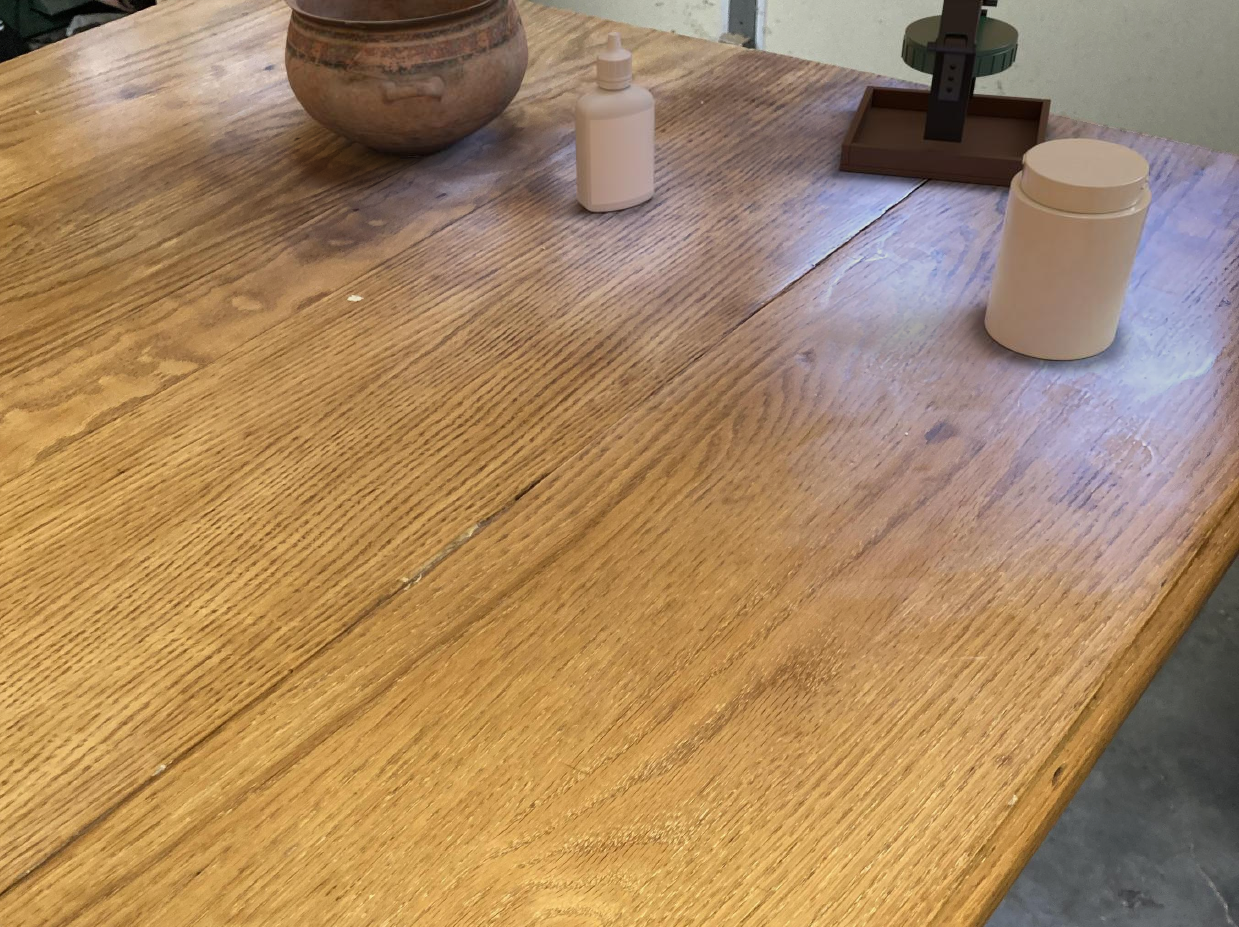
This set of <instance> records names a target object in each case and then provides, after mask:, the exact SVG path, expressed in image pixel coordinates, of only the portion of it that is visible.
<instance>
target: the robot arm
mask: <svg viewBox="0 0 1239 927" xmlns="http://www.w3.org/2000/svg"><path fill="white" fill-rule="evenodd" d="M998 2H999V0H943V2H942V9H941V14H940V15H941V21H940V28H939V34H938V37H937V38H936V41H935V42H929V41H928V42H927V51H928V52H936V55H935V62H934V69H933V75H932V77H931V83H930V96H929V103H928V110H927V117H926V124H925V130H924V137H923V140H933V141H945V142H956V143H961V140H962V135H963V129H964V123H965V117H966V111H967V105H968V99H972V98H973V94H975V88H976V81H977V77H975V78H972V75H973V69H974V63H975V57H976V51H977V49H976V48H977V41H976V36H977V31H978V25H979V20H980V16H985V17H988V9H985V8H983V7H990V8H992V7H993V8H997V6H998ZM951 33H963V34H951Z"/></svg>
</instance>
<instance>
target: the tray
mask: <svg viewBox="0 0 1239 927" xmlns="http://www.w3.org/2000/svg"><path fill="white" fill-rule="evenodd" d="M929 96H930V90H929V89H916V88H905V87H890V86H878V85H876V86H874V85H867V86H866V87H865V90H864V92H863V95H862V97H861V100H860V102H859V104H858V107H857V108H856V112H855V113H854V116H853V118H852V121H851V123H850V125H849V128H848V130H847V133H846V135H845V137H844V139H843V142H842V144H841V151H840V161H839V171H842V172H843V171H844V172H854V173H864V174H865V173H866V174H874V175H885V176H887V175H888V176H897V177H905V178H907V177H908V178H918V179H930V180H938V181H950V182H961V183H971V184H983V185H993V186H1004V187H1005V186H1006V187H1010V185H1011V181H1012V179H1013V178H1014V176H1015V175H1016V174H1018V173H1019V172H1020V171H1022V170H1023V166H1024V164H1022V161H1023V156H1024V154H1026V152H1027V151H1028V150H1030V149H1031V148H1033V147H1034V146H1036V145H1039V144H1041V143H1044V142H1046V138H1047V132H1048V125H1049V117H1050V111H1051V104H1052V99H1050V98H1049V99H1048V98H1036V97H1022V96H1009V95H998V94H997V95H996V94H985V93H974V94H973V98H972V99H968V105H967V111H966V117H965V123H964V129H963V135H962V140H961V143H956V142H945V141H933V140H923V137H924V130H925V124H926V117H927V110H928V103H929Z"/></svg>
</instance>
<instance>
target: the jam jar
mask: <svg viewBox="0 0 1239 927" xmlns="http://www.w3.org/2000/svg"><path fill="white" fill-rule="evenodd" d="M1022 164H1024V166H1023V170H1022V171H1020V172H1019V173H1018V174H1016V175H1015V176H1014V178H1013V179H1012V181H1011V185H1010V186H1009V191H1008V196H1007V201H1006V206H1005V211H1004V217H1003V222H1002V228H1001V232H1000V236H999V243H998V246H997V254H996V259H995V264H994V269H993V273H992V280H991V285H990V289H989V295H988V300H987V304H986V310H985V315H984V327H985V330H986V332H987V333H988V334H989V336H990V337H991V338H992V339H993V340H994V341H995V342H997V343H998V344H1000V345H1001V346H1002V347H1004V348H1006V349H1009V350H1011V351H1012V352H1015V353H1018V354H1021V355H1025V356H1028V357H1031V358H1032V357H1033V358H1037V359H1042V360H1051V361H1052V360H1053V361H1073V360H1080V359H1085V358H1090V357H1093V356H1096V355H1098V354H1101V353H1103V352H1104V351H1105V350H1107V349H1108V348H1109V347H1110V346H1111V345H1112V344H1113V342H1114V340H1115V337H1116V334H1117V329H1118V326H1119V322H1120V318H1121V314H1122V311H1123V308H1124V303H1125V299H1126V296H1127V293H1128V288H1129V285H1130V281H1131V277H1132V273H1133V270H1134V267H1135V266H1134V265H1135V263H1136V262H1135V261H1136V259H1137V255H1138V251H1139V247H1140V245H1141V244H1140V243H1141V240H1142V236H1143V232H1144V229H1145V226H1146V225H1145V224H1146V221H1147V217H1148V213H1149V210H1150V206H1151V202H1152V198H1153V196H1152V191H1151V188H1150V187H1149V186H1148V185H1149V183H1150V164H1149V162H1148V160H1147V159H1146V158H1145V157H1144V156H1143V155H1142V154H1140V152H1138V151H1136V150H1134V149H1132V148H1130V147H1127V146H1124V145H1122V144H1119V143H1116V142H1111V141H1106V140H1100V139H1093V138H1079V137H1077V138H1060V139H1052V140H1048V141H1045V142H1044V143H1041V144H1039V145H1036V146H1034V147H1033V148H1031V149H1030V150H1028V151H1027V152H1026V154H1024V156H1023V161H1022Z"/></svg>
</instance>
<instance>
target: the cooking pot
mask: <svg viewBox="0 0 1239 927" xmlns="http://www.w3.org/2000/svg"><path fill="white" fill-rule="evenodd" d="M283 1H284V3H285V4H286V5H287V6H288V7H289V8H290V9H291V13H290V18H289V22H288V27H287V32H286V40H285V48H284V49H285V51H284V65H285V66H284V67H285V70H286V71H285V72H286V75H287V80H288V83H289V87H290V88H291V90H292V92H293V94H294V96H295V98H296V99H297V101H298V102H299V104H300V105H301V107H302V108H303V109H304V110H305V111H306V113H307V114H308V115H309V116H310V117H311V118H312V119H313V120H314V121H315V122H316V123H317V124H319V125H321V126H322V127H324V128H325V129H326V130H328V131H329V132H331V133H333V134H335V135H337V136H339V137H341V138H344V139H346V140H348V141H352V142H354V143H357V144H359V145H362V146H364V147H368V148H370V149H374V150H377V151H379V152H380V153H382V154H386V155H388V156H392V157H396V158H421V157H429V156H433V155H437V154H440V153H442V152H445V151H447V150H449V149H451V148H452V147H454V146H455V145H456V144H457V143H459V142H461V141H463V140H464V139H467V137H470V136H471V135H473V134H475V133H476V132H478V131H479V130H481V129H482V128H484V127H486V126H487V125H489V124H490V123H492V122H493V121H494V120H496V119H497V118H498V117H499V116H500V115H502V113H503V112H504V111H505V110H506V109H507V108H508V107H509V105H510V104H511V103H512V102H513V100H514V99H515V98H516V96H517V95H518V93H519V91H520V89H521V86H522V83H523V81H524V78H525V75H526V71H527V69H528V64H529V45H528V38H527V34H526V30H525V27H524V24H523V20H522V18H521V15H520V12H519V8H518V7H517V4H516V3H515V0H283Z"/></svg>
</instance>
